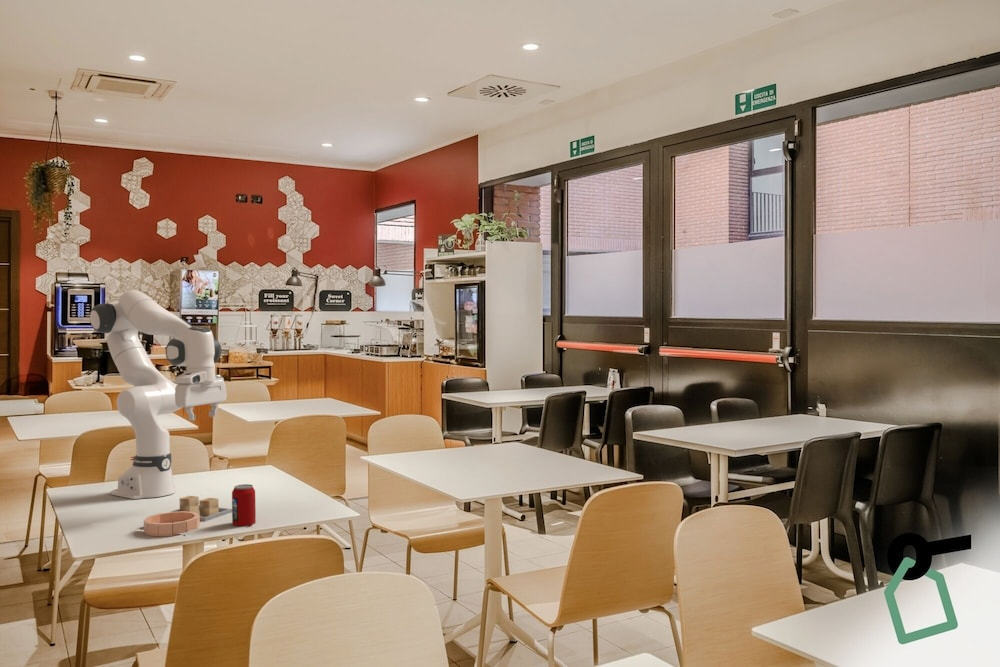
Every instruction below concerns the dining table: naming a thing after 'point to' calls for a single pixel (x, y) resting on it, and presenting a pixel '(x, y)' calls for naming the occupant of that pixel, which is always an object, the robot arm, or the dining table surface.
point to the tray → (221, 512)
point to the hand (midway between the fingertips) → (202, 418)
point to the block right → (208, 507)
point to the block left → (189, 504)
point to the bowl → (171, 523)
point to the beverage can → (243, 505)
